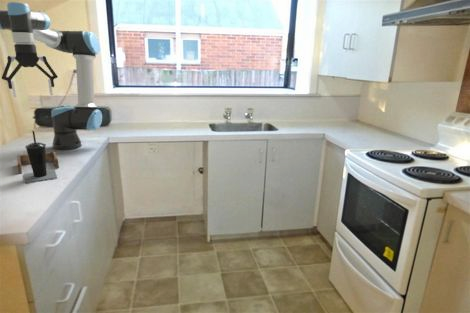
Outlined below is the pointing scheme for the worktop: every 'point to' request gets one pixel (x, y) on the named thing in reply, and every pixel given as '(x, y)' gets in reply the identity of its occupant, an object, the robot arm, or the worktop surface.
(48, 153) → the open wooden frame
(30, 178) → the mat
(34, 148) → the drinking cup
